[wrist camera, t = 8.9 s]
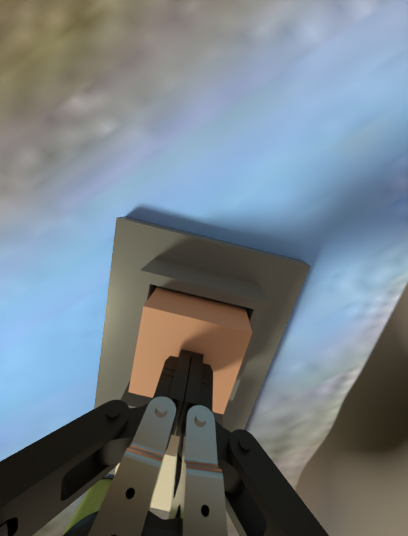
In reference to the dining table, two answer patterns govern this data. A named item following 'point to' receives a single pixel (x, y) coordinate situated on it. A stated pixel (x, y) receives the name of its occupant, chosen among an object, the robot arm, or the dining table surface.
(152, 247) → the key panel
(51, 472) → the robot arm
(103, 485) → the plant pot
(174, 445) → the cream key
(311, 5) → the dining table surface
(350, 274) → the dining table surface
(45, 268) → the dining table surface
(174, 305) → the terracotta key
